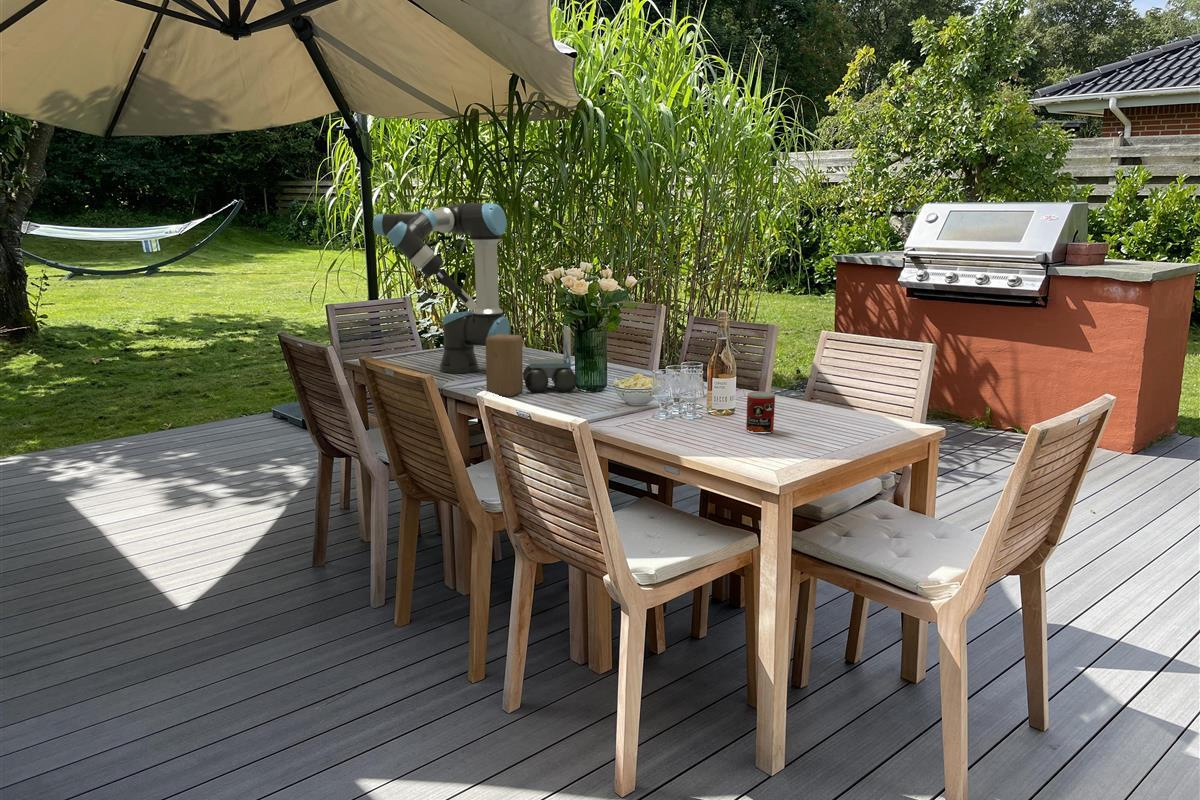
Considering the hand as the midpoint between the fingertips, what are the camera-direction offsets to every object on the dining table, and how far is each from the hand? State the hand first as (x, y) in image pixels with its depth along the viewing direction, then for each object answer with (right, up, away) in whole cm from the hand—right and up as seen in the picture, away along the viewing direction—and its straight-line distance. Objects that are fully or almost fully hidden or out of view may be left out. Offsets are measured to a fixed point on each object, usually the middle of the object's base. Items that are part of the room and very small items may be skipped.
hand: (473, 306), depth 312 cm
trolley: (+25, -28, +13) cm, 40 cm away
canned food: (+89, -41, -50) cm, 109 cm away
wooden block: (+10, -30, +4) cm, 32 cm away
